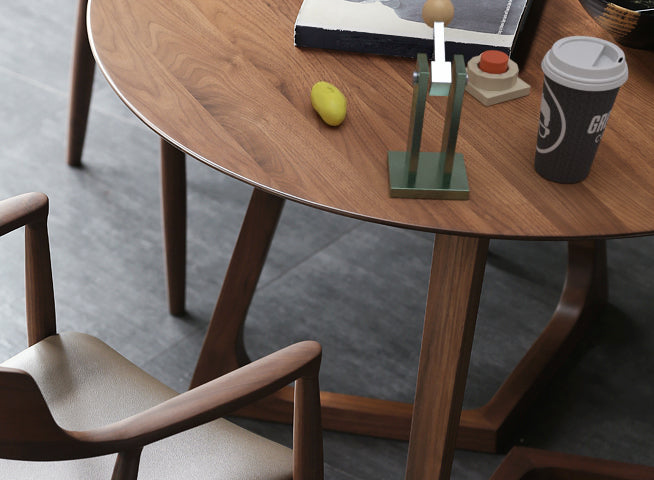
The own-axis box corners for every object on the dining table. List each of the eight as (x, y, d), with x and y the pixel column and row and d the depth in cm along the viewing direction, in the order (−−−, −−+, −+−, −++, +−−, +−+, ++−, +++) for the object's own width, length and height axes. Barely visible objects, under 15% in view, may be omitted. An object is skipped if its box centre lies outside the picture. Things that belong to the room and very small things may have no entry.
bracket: (386, 159, 129) (398, 44, 119) (461, 162, 129) (479, 47, 119) (389, 197, 124) (402, 80, 114) (468, 200, 124) (487, 83, 114)
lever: (419, 9, 123) (423, -13, 120) (451, 10, 123) (456, -11, 120) (421, 98, 119) (425, 78, 115) (454, 99, 119) (459, 79, 115)
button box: (529, 94, 142) (533, 73, 140) (486, 106, 139) (489, 85, 137) (493, 68, 147) (496, 47, 145) (450, 79, 144) (453, 58, 142)
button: (512, 72, 141) (514, 59, 140) (489, 77, 140) (491, 65, 138) (495, 60, 143) (497, 48, 142) (473, 65, 142) (475, 53, 141)
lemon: (319, 133, 134) (320, 104, 131) (305, 100, 139) (306, 73, 137) (352, 130, 134) (354, 102, 132) (337, 98, 140) (338, 70, 137)
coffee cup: (568, 200, 124) (597, 82, 114) (504, 165, 129) (526, 49, 119) (618, 171, 129) (650, 55, 118) (554, 138, 134) (580, 24, 124)
